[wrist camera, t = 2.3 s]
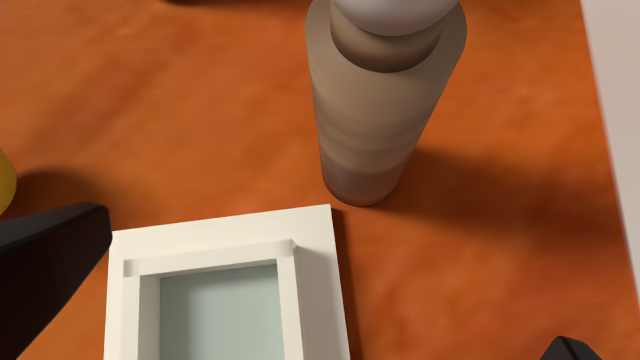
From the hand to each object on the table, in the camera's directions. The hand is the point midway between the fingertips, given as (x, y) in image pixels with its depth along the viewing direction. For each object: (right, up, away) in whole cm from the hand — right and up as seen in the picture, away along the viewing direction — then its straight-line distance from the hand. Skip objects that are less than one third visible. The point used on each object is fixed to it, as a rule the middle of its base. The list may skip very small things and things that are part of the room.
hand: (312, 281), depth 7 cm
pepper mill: (+2, +3, +14) cm, 15 cm away
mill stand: (-5, -6, +12) cm, 14 cm away
